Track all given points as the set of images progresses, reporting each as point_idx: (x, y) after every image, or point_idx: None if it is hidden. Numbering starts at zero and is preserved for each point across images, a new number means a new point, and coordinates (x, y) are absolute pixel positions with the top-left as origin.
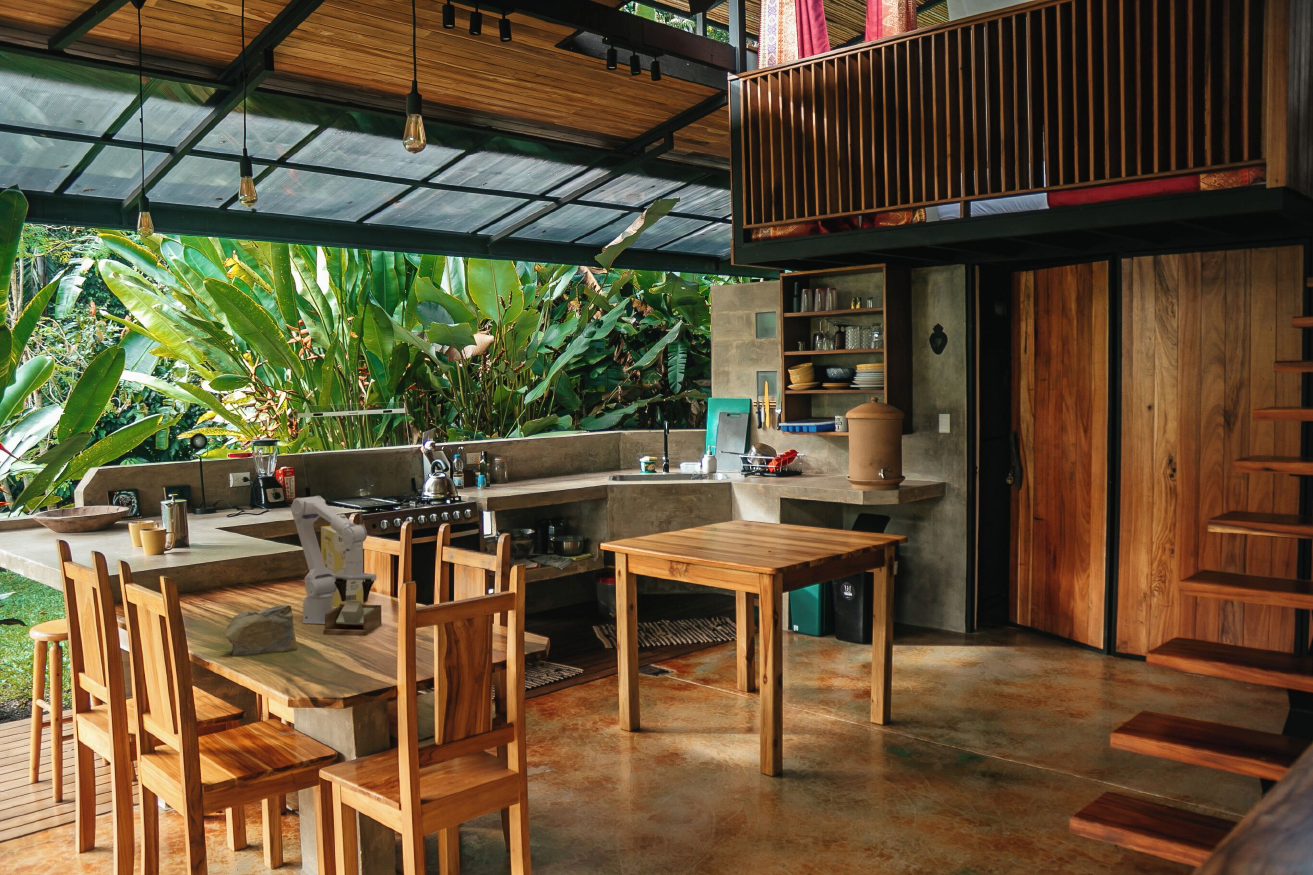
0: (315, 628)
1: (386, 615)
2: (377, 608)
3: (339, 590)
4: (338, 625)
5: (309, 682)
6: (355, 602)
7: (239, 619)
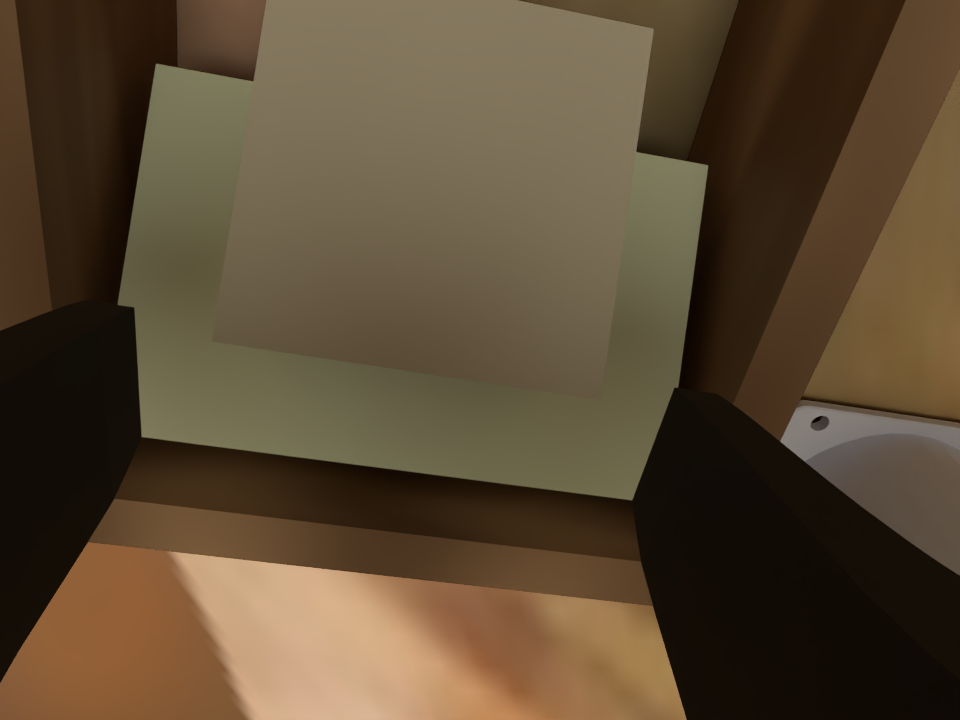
0: (945, 224)
1: (247, 681)
2: None
3: (929, 572)
4: None
5: None
6: (352, 302)
7: None
